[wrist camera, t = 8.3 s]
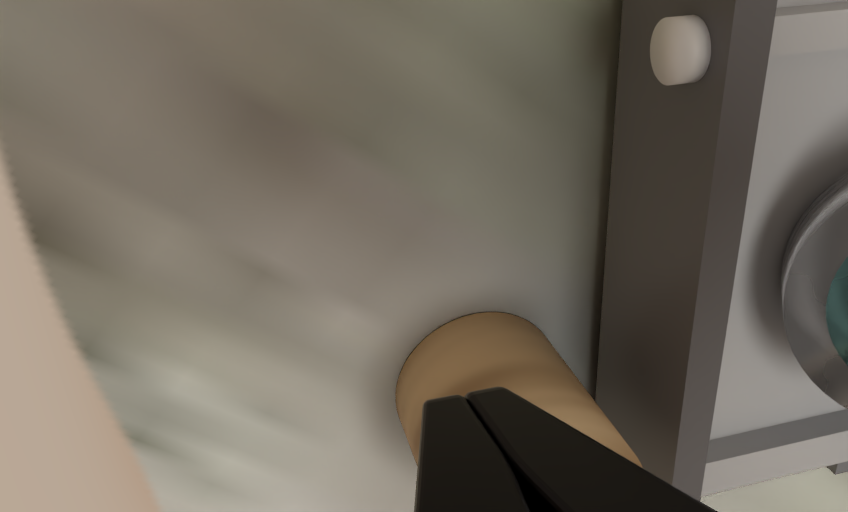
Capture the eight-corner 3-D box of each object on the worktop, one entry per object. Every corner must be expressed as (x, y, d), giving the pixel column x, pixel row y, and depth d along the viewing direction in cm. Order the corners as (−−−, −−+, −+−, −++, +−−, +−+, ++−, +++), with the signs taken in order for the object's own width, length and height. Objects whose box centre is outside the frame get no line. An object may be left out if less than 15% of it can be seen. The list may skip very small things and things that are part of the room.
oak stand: (552, 435, 22) (637, 567, 17) (400, 467, 21) (451, 615, 17) (558, 299, 20) (654, 411, 15) (390, 328, 19) (445, 456, 15)
